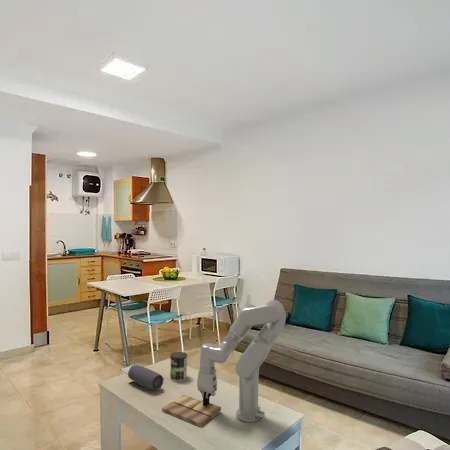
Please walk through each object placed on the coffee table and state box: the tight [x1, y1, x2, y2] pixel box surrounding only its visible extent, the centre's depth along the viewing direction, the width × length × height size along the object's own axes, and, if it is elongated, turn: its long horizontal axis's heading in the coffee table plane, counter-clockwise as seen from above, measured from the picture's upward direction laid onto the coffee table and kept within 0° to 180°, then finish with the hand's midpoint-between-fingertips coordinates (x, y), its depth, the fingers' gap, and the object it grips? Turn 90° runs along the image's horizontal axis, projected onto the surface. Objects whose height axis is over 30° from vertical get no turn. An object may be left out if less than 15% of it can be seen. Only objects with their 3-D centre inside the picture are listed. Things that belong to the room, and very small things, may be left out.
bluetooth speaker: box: [127, 364, 164, 391], centre depth 205 cm, size 23×9×10 cm, turn 51°
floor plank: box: [161, 401, 212, 428], centre depth 173 cm, size 25×8×2 cm, turn 56°
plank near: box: [193, 399, 222, 420], centre depth 177 cm, size 12×8×2 cm
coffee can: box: [169, 351, 188, 382], centre depth 217 cm, size 10×10×14 cm
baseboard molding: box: [119, 362, 165, 381], centre depth 220 cm, size 31×3×12 cm
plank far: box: [173, 394, 202, 410], centre depth 184 cm, size 12×8×2 cm
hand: (205, 404), depth 179 cm, fingers closed
